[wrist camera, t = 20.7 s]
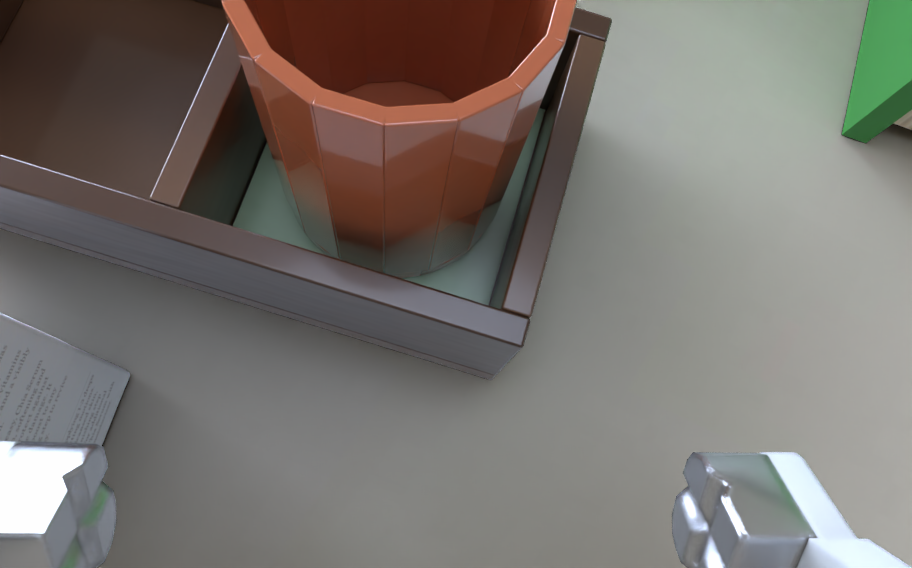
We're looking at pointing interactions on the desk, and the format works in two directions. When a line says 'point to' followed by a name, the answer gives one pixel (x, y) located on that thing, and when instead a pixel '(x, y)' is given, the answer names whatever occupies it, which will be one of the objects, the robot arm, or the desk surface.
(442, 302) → the divided storage box
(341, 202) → the cup
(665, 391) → the desk surface
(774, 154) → the desk surface
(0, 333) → the cosmetic box
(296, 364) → the desk surface
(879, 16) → the hardback book
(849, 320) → the desk surface
